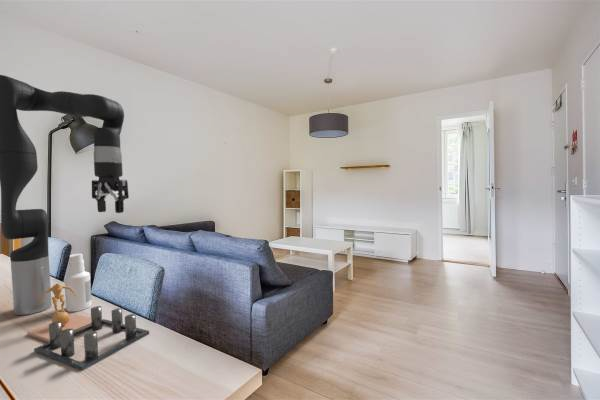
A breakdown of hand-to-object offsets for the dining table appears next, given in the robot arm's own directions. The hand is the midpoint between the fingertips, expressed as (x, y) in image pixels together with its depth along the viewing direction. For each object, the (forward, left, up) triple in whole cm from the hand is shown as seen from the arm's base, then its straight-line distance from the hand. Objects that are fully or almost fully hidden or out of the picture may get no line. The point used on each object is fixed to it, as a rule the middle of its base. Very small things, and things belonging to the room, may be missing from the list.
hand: (110, 212), depth 94 cm
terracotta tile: (-2, -14, -32) cm, 35 cm away
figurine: (-3, -14, -32) cm, 35 cm away
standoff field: (+14, -16, -32) cm, 38 cm away
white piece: (-13, -4, -32) cm, 35 cm away
